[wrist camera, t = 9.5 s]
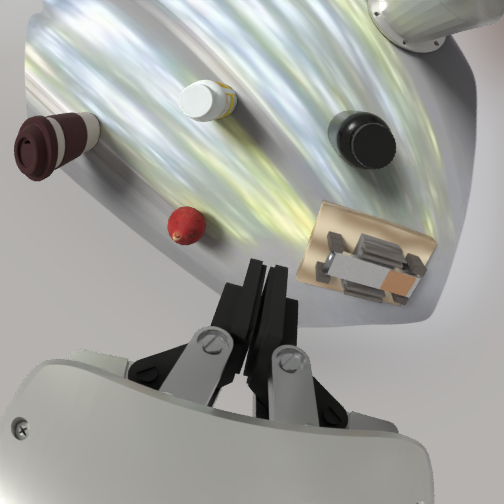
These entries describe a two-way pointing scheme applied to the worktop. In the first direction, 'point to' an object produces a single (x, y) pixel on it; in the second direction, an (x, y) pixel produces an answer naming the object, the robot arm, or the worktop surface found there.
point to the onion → (186, 225)
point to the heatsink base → (362, 249)
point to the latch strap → (370, 273)
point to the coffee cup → (54, 142)
